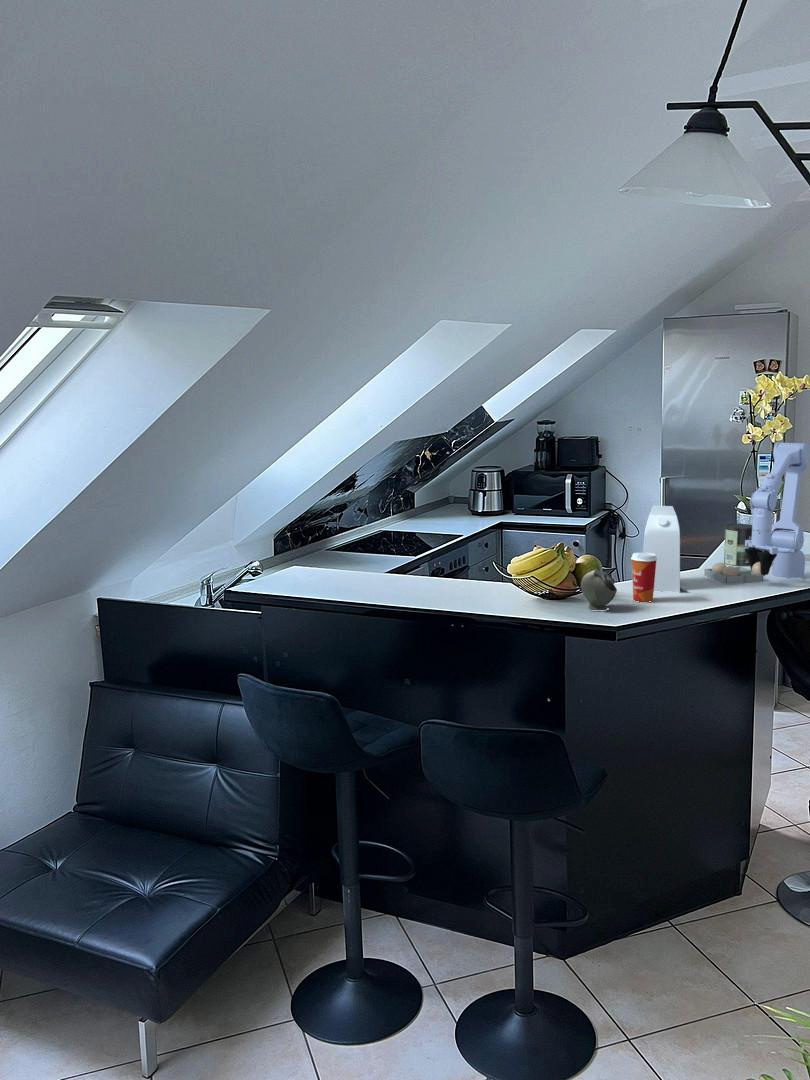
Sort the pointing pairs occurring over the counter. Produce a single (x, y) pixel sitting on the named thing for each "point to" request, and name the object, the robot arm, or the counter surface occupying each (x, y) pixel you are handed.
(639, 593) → the paper cup
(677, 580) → the milk
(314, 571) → the counter surface
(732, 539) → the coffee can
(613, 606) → the counter surface
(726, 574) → the egg
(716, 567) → the egg
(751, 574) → the carton
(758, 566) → the egg
